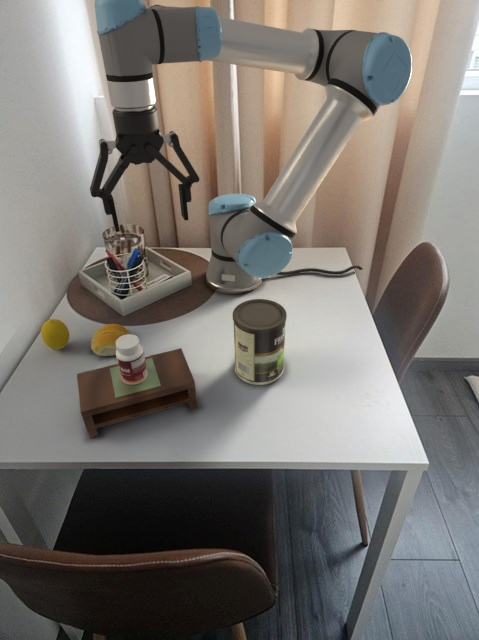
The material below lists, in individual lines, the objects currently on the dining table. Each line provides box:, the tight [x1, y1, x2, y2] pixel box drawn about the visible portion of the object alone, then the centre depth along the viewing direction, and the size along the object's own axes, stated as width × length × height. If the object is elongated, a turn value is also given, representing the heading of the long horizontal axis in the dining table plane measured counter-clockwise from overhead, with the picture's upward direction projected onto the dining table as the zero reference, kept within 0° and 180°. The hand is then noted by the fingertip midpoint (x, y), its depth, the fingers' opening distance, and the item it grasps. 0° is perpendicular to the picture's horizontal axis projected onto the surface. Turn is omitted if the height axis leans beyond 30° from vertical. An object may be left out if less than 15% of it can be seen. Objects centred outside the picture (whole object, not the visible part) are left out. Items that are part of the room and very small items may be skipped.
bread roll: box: [90, 323, 130, 357], centre depth 99 cm, size 8×9×4 cm
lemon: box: [40, 318, 70, 350], centre depth 97 cm, size 6×6×8 cm
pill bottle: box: [115, 333, 148, 385], centre depth 79 cm, size 5×5×8 cm
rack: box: [76, 347, 198, 439], centre depth 83 cm, size 20×10×7 cm, turn 110°
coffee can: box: [232, 298, 287, 386], centre depth 89 cm, size 10×10×14 cm
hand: (151, 223), depth 88 cm, fingers open, 13 cm apart
